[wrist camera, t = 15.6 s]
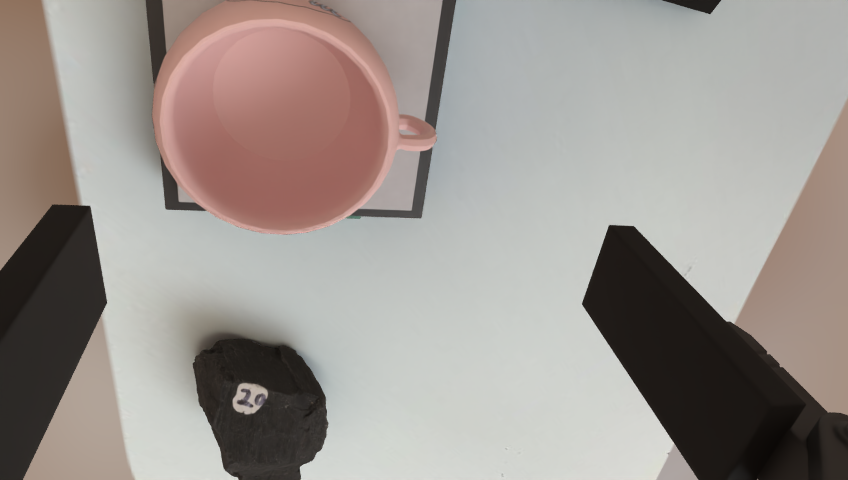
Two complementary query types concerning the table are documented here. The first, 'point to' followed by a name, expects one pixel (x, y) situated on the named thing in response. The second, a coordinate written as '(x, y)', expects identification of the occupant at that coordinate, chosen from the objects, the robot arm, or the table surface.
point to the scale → (401, 53)
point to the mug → (279, 115)
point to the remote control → (697, 4)
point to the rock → (261, 408)
